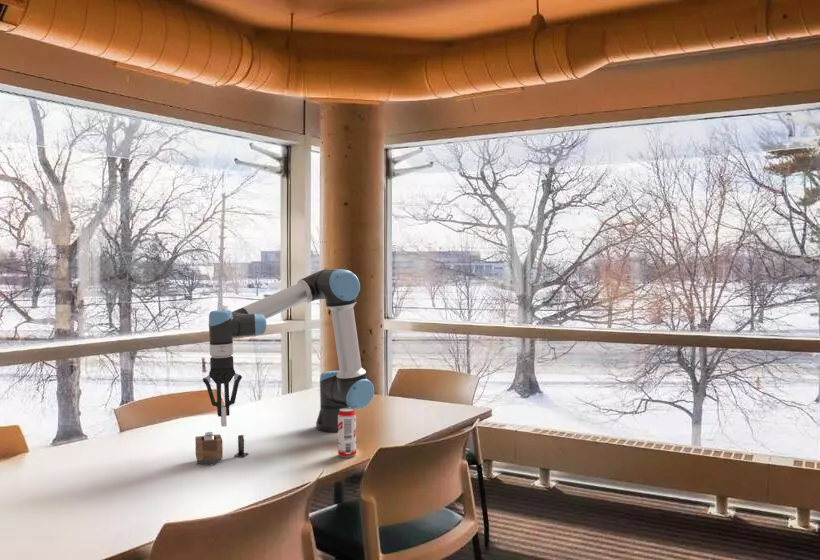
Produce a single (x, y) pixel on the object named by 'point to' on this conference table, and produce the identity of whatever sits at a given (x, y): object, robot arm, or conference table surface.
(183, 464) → the conference table surface
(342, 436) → the beer can
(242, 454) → the stand
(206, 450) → the brown box
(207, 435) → the hub
